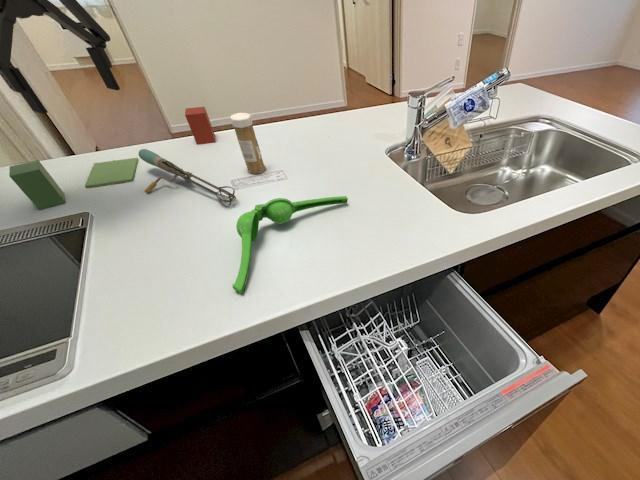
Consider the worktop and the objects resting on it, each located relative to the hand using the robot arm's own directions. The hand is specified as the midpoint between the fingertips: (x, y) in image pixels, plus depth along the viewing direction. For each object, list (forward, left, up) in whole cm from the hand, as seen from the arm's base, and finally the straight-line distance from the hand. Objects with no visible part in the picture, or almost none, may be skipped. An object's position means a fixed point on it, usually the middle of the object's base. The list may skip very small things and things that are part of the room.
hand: (79, 99), depth 63 cm
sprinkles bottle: (-7, +26, -22) cm, 35 cm away
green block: (-7, -19, -21) cm, 29 cm away
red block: (-30, +14, -21) cm, 40 cm away
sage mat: (-17, -8, -21) cm, 28 cm away
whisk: (-2, +8, -22) cm, 23 cm away
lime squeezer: (+23, +28, -22) cm, 42 cm away
